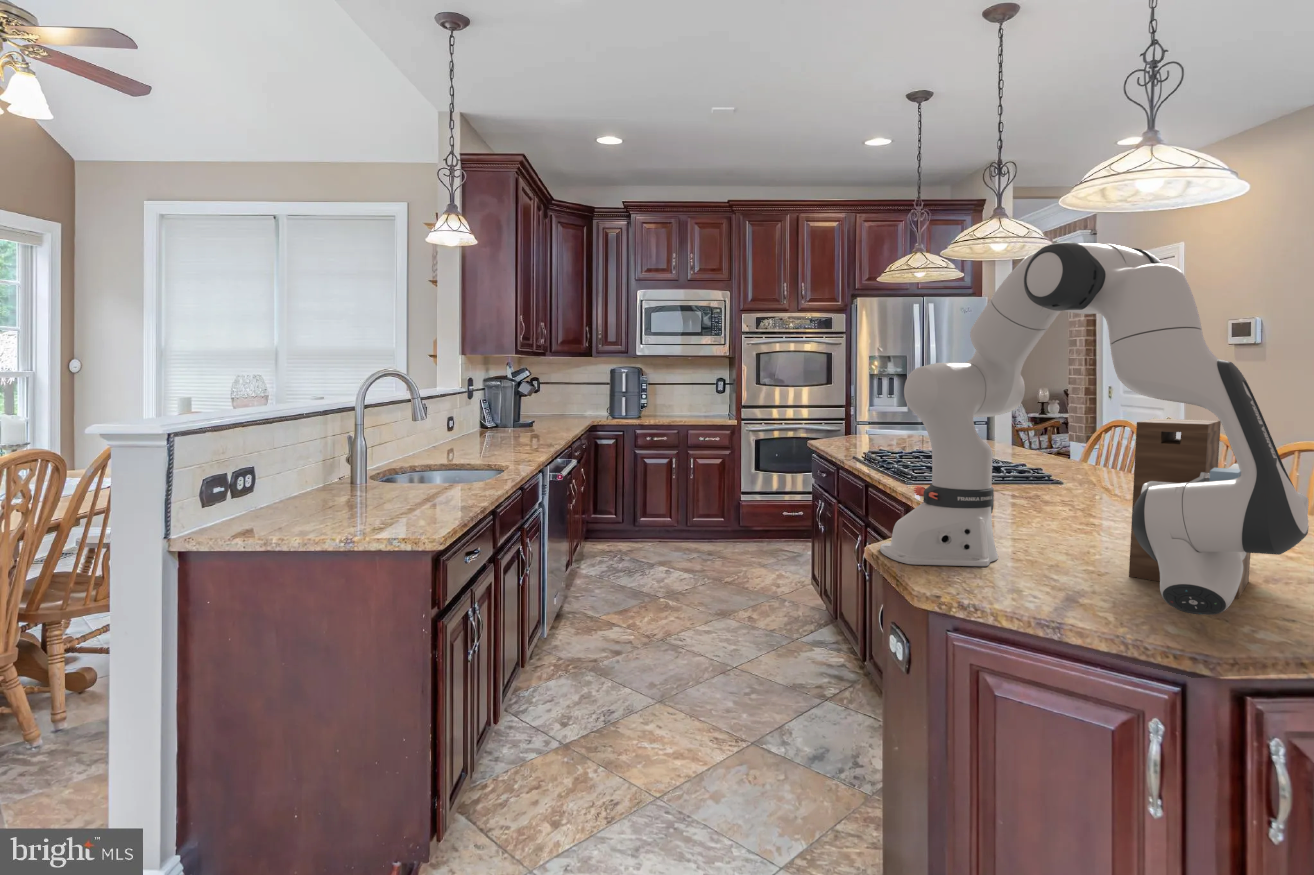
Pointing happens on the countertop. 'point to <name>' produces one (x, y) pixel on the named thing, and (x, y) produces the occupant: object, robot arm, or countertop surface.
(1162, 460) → the stand
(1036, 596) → the countertop surface
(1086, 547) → the countertop surface
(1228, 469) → the plug
